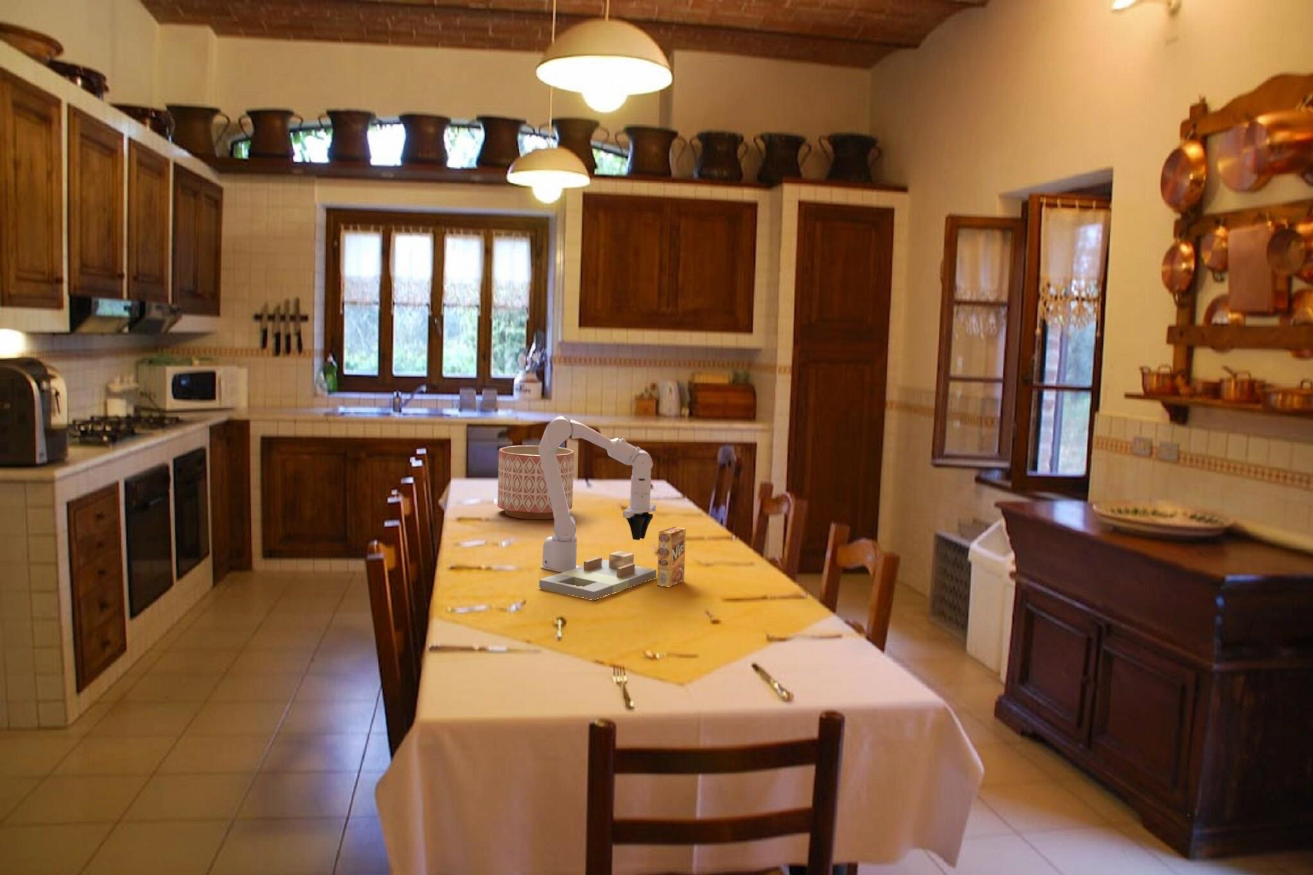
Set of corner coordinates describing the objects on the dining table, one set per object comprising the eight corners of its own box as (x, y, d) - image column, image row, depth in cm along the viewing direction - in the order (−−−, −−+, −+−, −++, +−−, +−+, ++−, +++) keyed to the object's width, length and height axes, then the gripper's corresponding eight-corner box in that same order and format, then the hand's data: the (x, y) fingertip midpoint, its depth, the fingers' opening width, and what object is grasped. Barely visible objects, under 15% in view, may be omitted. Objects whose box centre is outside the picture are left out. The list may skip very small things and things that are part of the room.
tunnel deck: (539, 588, 265) (539, 570, 264) (604, 567, 290) (604, 551, 289) (593, 601, 255) (594, 582, 255) (656, 578, 280) (656, 561, 280)
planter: (488, 508, 372) (490, 445, 370) (557, 505, 384) (559, 444, 381) (509, 522, 348) (511, 456, 345) (582, 519, 359) (584, 454, 357)
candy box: (669, 588, 271) (671, 533, 269) (655, 585, 273) (658, 531, 271) (684, 581, 278) (687, 528, 277) (671, 579, 280) (673, 526, 279)
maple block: (608, 567, 280) (609, 553, 280) (618, 564, 285) (619, 550, 284) (623, 570, 278) (624, 556, 277) (633, 567, 282) (633, 553, 281)
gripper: (638, 497, 278) (636, 545, 279) (665, 491, 290) (663, 536, 291) (617, 494, 281) (615, 541, 283) (645, 488, 294) (643, 533, 295)
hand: (638, 538), depth 287 cm, fingers closed
